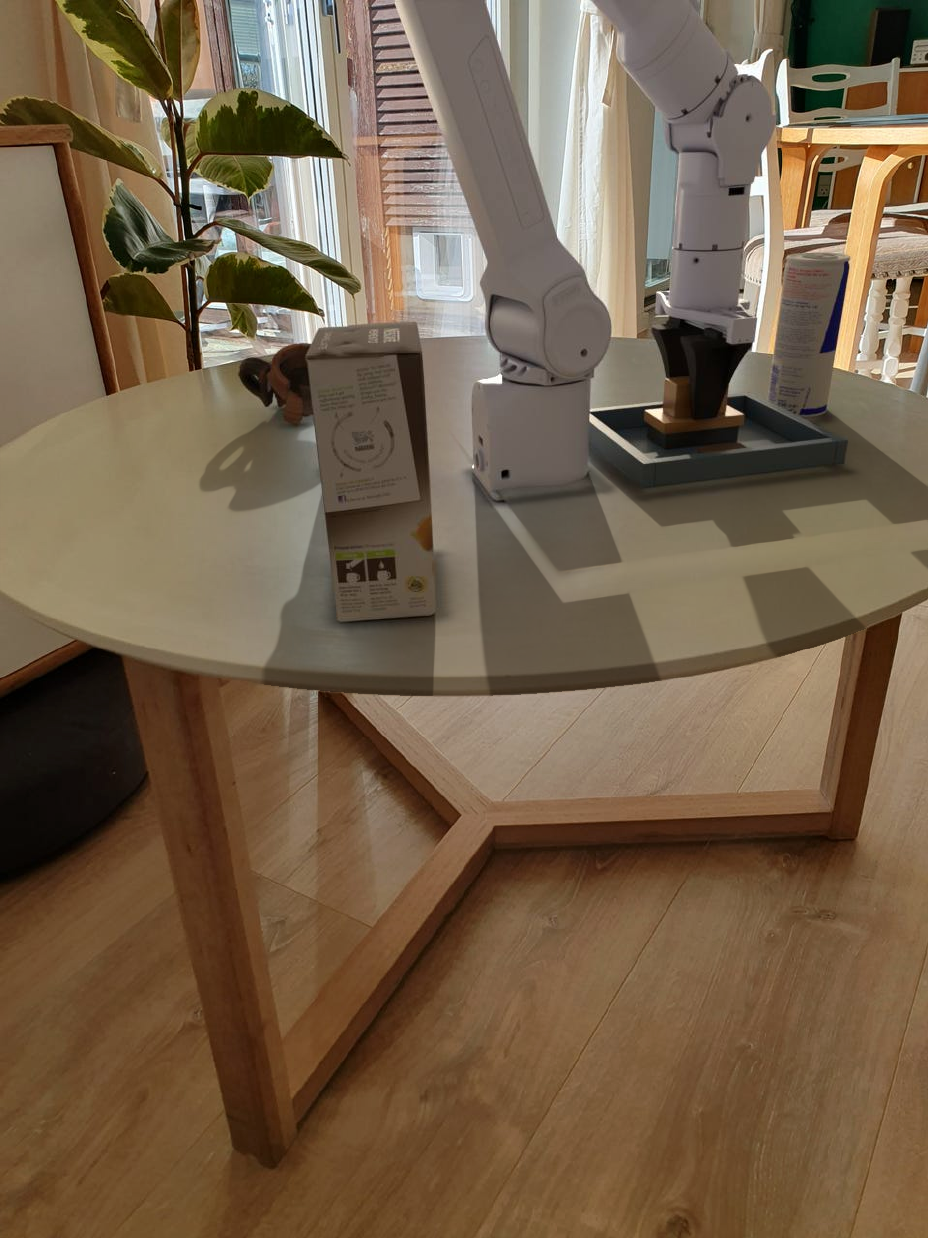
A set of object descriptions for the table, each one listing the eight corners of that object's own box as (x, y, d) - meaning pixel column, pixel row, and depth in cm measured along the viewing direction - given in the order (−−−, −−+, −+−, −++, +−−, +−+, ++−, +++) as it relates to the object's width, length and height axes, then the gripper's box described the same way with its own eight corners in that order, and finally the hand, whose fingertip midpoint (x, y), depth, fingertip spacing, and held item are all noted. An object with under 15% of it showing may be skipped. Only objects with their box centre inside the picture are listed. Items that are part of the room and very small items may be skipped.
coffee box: (440, 617, 54) (424, 350, 46) (335, 624, 54) (302, 357, 46) (432, 554, 62) (418, 318, 54) (341, 560, 62) (314, 324, 54)
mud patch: (718, 473, 72) (719, 462, 71) (696, 458, 75) (697, 447, 75) (762, 468, 72) (764, 456, 72) (738, 453, 76) (740, 442, 75)
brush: (662, 451, 77) (667, 388, 75) (642, 436, 81) (646, 376, 78) (741, 441, 79) (749, 380, 76) (718, 428, 82) (724, 368, 80)
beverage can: (829, 425, 84) (857, 258, 77) (768, 423, 86) (790, 259, 78) (820, 408, 89) (846, 250, 82) (763, 407, 90) (783, 251, 83)
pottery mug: (353, 402, 100) (359, 345, 93) (335, 462, 95) (339, 406, 88) (249, 377, 99) (246, 318, 92) (224, 436, 94) (220, 378, 87)
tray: (641, 497, 70) (643, 463, 69) (574, 439, 84) (574, 410, 82) (843, 472, 73) (849, 439, 72) (746, 419, 87) (750, 391, 86)
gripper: (801, 253, 66) (776, 428, 73) (711, 235, 79) (697, 387, 85) (715, 259, 65) (698, 437, 72) (637, 240, 77) (629, 394, 84)
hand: (693, 410), depth 78 cm, fingers open, 4 cm apart
